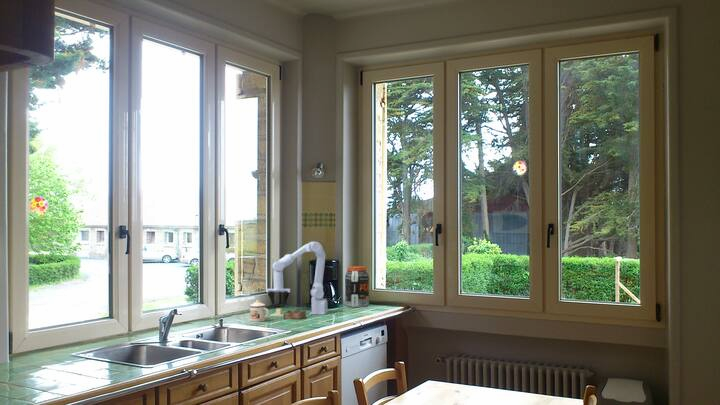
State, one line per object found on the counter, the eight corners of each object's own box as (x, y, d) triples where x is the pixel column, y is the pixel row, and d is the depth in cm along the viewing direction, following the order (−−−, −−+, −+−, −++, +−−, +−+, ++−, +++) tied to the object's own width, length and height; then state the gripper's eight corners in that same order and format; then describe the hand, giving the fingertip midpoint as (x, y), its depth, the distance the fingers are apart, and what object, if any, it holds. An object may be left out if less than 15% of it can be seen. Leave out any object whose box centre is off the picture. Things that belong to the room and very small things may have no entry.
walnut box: (305, 317, 387) (305, 310, 387) (300, 319, 377) (299, 312, 377) (290, 316, 390) (289, 310, 390) (283, 319, 380) (283, 312, 380)
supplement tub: (360, 308, 422) (360, 267, 423) (340, 306, 430) (340, 267, 431) (373, 305, 435) (373, 266, 436) (354, 303, 444) (353, 265, 444)
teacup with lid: (246, 321, 374) (246, 301, 374) (255, 319, 382) (255, 299, 382) (264, 322, 368) (263, 301, 369) (273, 320, 377) (272, 300, 377)
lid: (288, 314, 395) (287, 307, 396) (282, 316, 387) (282, 309, 387) (275, 314, 398) (275, 307, 398) (269, 316, 390) (269, 309, 390)
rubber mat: (288, 315, 396) (288, 314, 396) (283, 317, 387) (283, 316, 387) (274, 314, 398) (274, 314, 398) (269, 317, 389) (268, 316, 389)
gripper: (264, 282, 391) (265, 305, 391) (287, 282, 387) (287, 305, 387) (269, 281, 398) (269, 303, 397) (291, 281, 394) (292, 303, 394)
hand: (278, 304), depth 393 cm, fingers open, 7 cm apart
